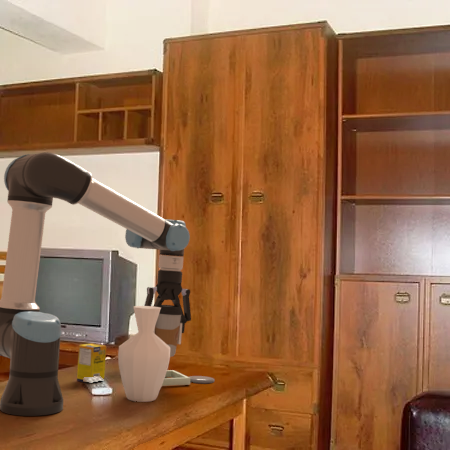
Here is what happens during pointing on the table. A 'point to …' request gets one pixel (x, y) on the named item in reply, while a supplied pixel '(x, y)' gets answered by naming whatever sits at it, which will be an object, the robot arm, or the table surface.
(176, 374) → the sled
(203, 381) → the coaster
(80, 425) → the table surface
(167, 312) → the coffee cup
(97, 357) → the supplement box
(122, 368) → the vase
